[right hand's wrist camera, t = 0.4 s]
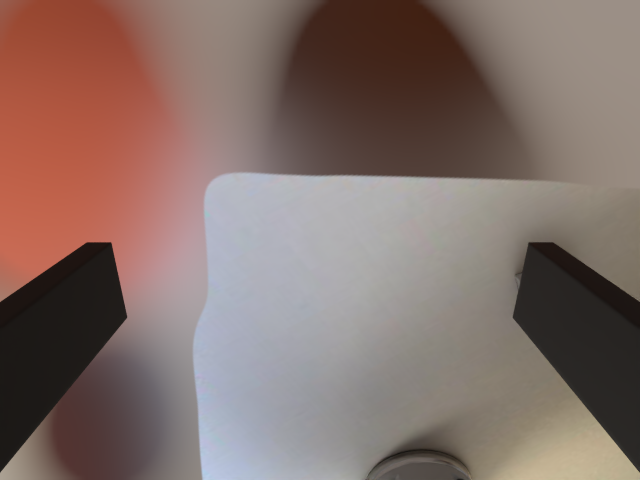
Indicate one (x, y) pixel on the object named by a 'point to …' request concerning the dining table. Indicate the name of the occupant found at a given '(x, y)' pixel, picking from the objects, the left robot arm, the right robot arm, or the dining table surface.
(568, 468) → the dining table surface
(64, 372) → the right robot arm
